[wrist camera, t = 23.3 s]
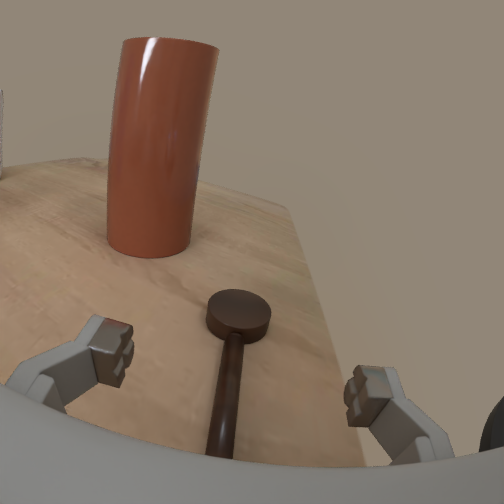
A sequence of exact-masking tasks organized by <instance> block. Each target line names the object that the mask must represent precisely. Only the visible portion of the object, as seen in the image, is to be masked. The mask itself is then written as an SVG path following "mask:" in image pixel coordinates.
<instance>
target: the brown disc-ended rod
mask: <svg viewBox="0 0 504 504" xmlns="http://www.w3.org/2000/svg"><path fill="white" fill-rule="evenodd" d="M270 318H271V309H270V306H269V305H268V303H267V302H266V301H265V300H264V299H263V298H261V297H260V296H258V295H256V294H254V293H251V292H248V291H244V290H239V289H227V290H222V291H219V292H217V293H215V294H214V295H212V296H211V298H210V299H209V301H208V307H207V315H206V323H207V326H208V328H209V330H210V331H211V332H212V333H213V334H214V335H215V336H217V337H218V338H220V339H222V340H225V342H224V347H223V353H222V359H221V365H220V370H219V376H218V382H217V388H216V394H215V399H214V405H213V411H212V417H211V423H210V429H209V435H208V441H207V447H206V453H205V455H208V456H214V457H220V458H226V459H232V458H233V448H234V439H235V429H236V419H237V410H238V400H239V391H240V381H241V372H242V362H243V352H244V344H248V343H253V342H256V341H258V340H260V339H261V338H262V337H263V336H264V335H265V334H266V332H267V328H268V325H269V321H270Z"/></svg>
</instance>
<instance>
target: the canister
mask: <svg viewBox="0 0 504 504" xmlns="http://www.w3.org/2000/svg"><path fill="white" fill-rule="evenodd" d="M218 55H219V49H218V48H216V47H214V46H211V45H208V44H204V43H200V42H195V41H190V40H184V39H175V38H162V37H141V38H131V39H127V40H125V41H124V42H123V45H122V51H121V56H120V62H119V68H118V74H117V81H116V89H115V96H114V104H113V113H112V123H111V133H110V146H109V160H108V180H107V241H108V243H109V244H110V245H111V247H113V248H114V249H115V250H117V251H119V252H121V253H124V254H126V255H130V256H135V257H142V258H160V257H167V256H171V255H175V254H177V253H179V252H182V251H183V250H185V249H186V248H187V247H188V245H189V244H190V238H191V229H192V221H193V212H194V204H195V196H196V189H197V181H198V174H199V167H200V160H201V153H202V146H203V140H204V133H205V127H206V121H207V115H208V109H209V103H210V98H211V92H212V86H213V81H214V75H215V70H216V65H217V60H218Z"/></svg>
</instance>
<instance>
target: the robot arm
mask: <svg viewBox="0 0 504 504" xmlns="http://www.w3.org/2000/svg"><path fill="white" fill-rule="evenodd" d="M132 335H133V326H132V325H130V324H126V323H123V322H119V321H116V320H113V319H109V318H105V317H102V316H99V315H96V314H95V315H93V316H91V318H90V319H89V320H88V322H87V323H86V325H85V326H84V328H83V329H82V330H81V332H80V333H79V335H78V336H77V338H76V339H75V341H74V342H73V341H69V342H66V343H64V344H62V345H60V346H57V347H55V348H53V349H51V350H48V351H46V352H44V353H41V354H39V355H37V356H35V357H32V358H30V359H28V360H25V361H23V362H21V363H20V364H19V365H18V367H17V368H16V369H15V371H14V372H13V374H12V375H11V376H10V378H9V379H8V381H7V382H6V384H5V385H3V384H1V383H0V504H504V446H503V447H500V448H496V449H492V450H488V451H483V452H479V453H475V454H470V455H465V456H460V457H455V455H454V452H453V449H452V446H451V444H450V441H449V438H448V435H447V433H446V432H445V431H444V430H443V429H442V428H440V427H439V426H438V425H437V424H436V423H435V422H434V421H433V420H431V418H429V417H428V416H427V415H426V414H425V413H424V412H423V411H422V410H421V409H420V408H418V407H417V406H416V405H415V404H414V403H413V402H412V401H411V400H410V399H406V397H405V394H404V391H403V388H402V386H401V383H400V380H399V377H398V375H397V372H396V370H395V368H394V367H376V366H363V365H358V366H357V367H356V368H355V369H354V371H353V375H354V377H353V378H351V379H349V380H348V382H347V384H346V385H345V389H344V403H345V404H346V406H347V407H348V408H349V409H348V410H347V412H346V416H347V421H348V427H368V428H369V430H370V431H371V433H372V434H373V435H374V437H375V438H376V439H377V441H378V442H379V443H380V445H381V446H382V447H383V449H384V450H385V451H386V452H387V454H388V455H389V456H390V458H391V459H392V460H393V461H392V462H391V463H390V464H389V465H388V466H376V467H375V466H374V467H303V466H287V465H274V464H264V463H255V462H247V461H239V460H232V459H226V458H220V457H214V456H208V455H203V454H198V453H193V452H188V451H183V450H179V449H174V448H170V447H166V446H162V445H158V444H154V443H150V442H147V441H143V440H140V439H136V438H133V437H129V436H126V435H123V434H120V433H116V432H113V431H110V430H107V429H104V428H102V427H99V426H96V425H93V424H90V423H88V422H85V421H82V420H80V419H77V418H74V417H72V416H69V415H67V413H66V410H65V408H64V406H66V405H67V404H69V403H70V402H72V401H73V400H74V399H76V398H77V397H79V396H80V395H82V394H83V393H85V392H86V391H88V390H89V389H91V388H92V387H94V386H95V385H97V384H98V383H102V384H105V385H109V386H112V387H116V388H120V386H121V384H122V381H123V379H124V377H125V369H126V368H128V367H129V366H130V364H131V362H132V358H133V354H134V342H133V341H132V339H131V337H132Z"/></svg>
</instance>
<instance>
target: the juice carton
mask: <svg viewBox="0 0 504 504" xmlns="http://www.w3.org/2000/svg"><path fill="white" fill-rule="evenodd" d="M3 103H4V102H3V91H2V90H0V177H1V172H2V123H3V122H2V121H3Z"/></svg>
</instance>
